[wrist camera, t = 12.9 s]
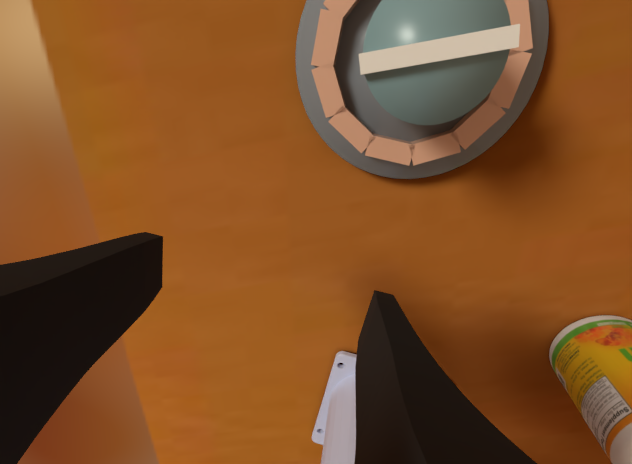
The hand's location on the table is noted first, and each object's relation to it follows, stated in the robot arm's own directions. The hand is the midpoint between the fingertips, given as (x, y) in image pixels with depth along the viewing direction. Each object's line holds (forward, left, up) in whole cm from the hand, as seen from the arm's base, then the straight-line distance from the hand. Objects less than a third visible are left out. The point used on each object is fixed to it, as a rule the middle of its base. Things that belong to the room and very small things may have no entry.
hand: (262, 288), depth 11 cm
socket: (+8, -4, -9) cm, 13 cm away
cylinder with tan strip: (+8, -4, -9) cm, 12 cm away
